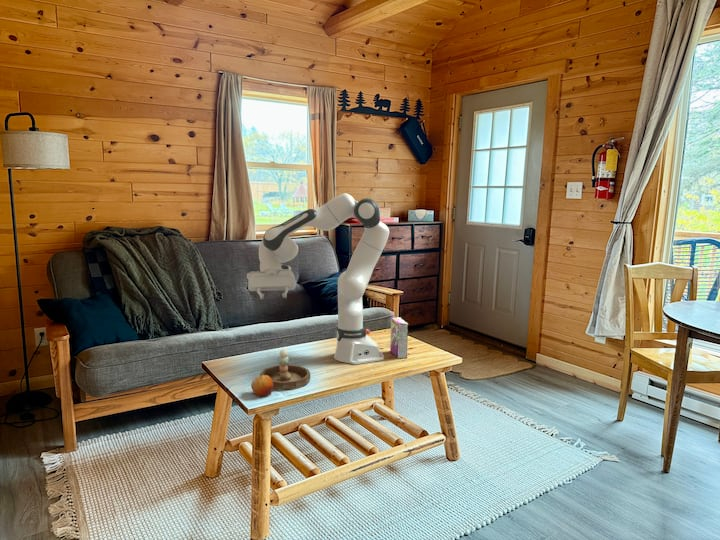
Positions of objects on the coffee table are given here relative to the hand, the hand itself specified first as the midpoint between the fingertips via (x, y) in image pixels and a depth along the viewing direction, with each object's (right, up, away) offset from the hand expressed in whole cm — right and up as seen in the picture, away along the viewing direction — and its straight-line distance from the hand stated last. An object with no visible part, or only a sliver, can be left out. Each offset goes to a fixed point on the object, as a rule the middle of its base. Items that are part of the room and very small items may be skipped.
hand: (273, 297), depth 209 cm
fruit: (+1, -34, -26) cm, 43 cm away
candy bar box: (+54, -28, +21) cm, 64 cm away
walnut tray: (+7, -32, -13) cm, 35 cm away
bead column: (+6, -31, -8) cm, 32 cm away
